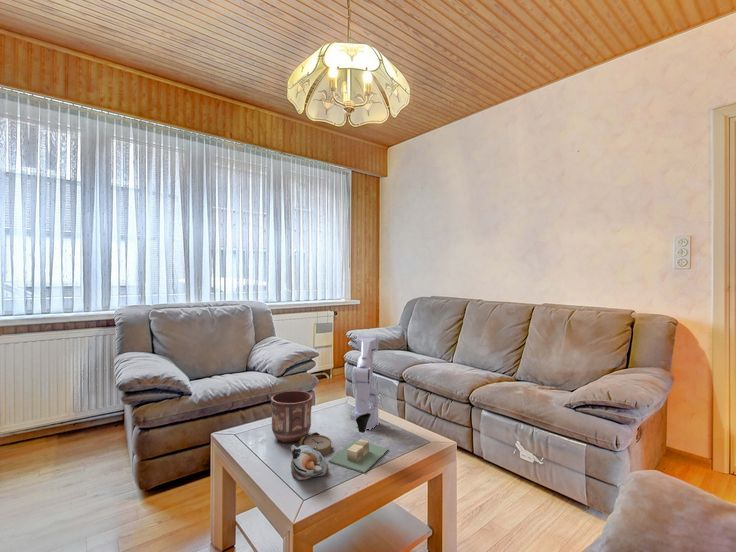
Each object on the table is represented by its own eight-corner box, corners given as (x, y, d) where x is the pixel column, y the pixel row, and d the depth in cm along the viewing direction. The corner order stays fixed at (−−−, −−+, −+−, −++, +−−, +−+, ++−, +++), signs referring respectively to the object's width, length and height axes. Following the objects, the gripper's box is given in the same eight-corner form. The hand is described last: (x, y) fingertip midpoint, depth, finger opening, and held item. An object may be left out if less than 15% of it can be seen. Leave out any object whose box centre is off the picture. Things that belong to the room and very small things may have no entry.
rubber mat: (355, 441, 156) (355, 439, 156) (388, 450, 148) (388, 448, 148) (328, 461, 139) (328, 460, 139) (364, 473, 131) (364, 471, 131)
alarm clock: (315, 453, 140) (293, 434, 150) (314, 464, 140) (292, 445, 151) (337, 443, 148) (315, 426, 158) (336, 454, 149) (313, 436, 159)
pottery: (288, 451, 147) (289, 406, 147) (262, 438, 157) (263, 397, 157) (319, 436, 161) (320, 395, 161) (293, 425, 171) (294, 387, 171)
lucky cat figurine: (335, 469, 133) (335, 445, 126) (313, 497, 124) (311, 473, 117) (305, 448, 140) (303, 424, 133) (282, 472, 132) (279, 448, 125)
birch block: (360, 439, 148) (347, 449, 139) (369, 441, 146) (356, 452, 137) (360, 448, 148) (347, 459, 139) (368, 451, 146) (356, 462, 137)
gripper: (361, 405, 136) (361, 441, 136) (379, 394, 149) (379, 427, 149) (346, 402, 140) (345, 437, 140) (364, 391, 152) (364, 423, 153)
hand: (362, 431), depth 145 cm, fingers closed
